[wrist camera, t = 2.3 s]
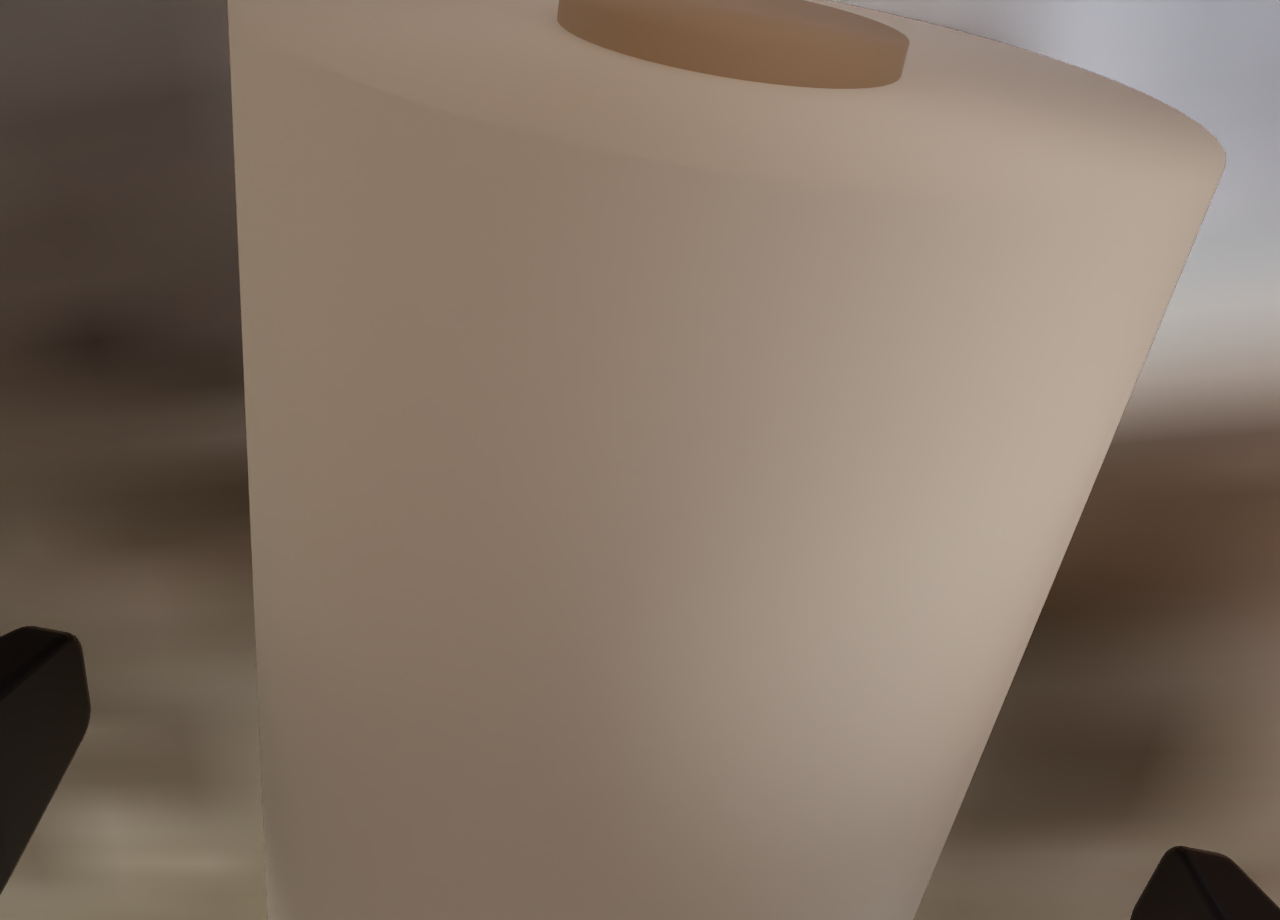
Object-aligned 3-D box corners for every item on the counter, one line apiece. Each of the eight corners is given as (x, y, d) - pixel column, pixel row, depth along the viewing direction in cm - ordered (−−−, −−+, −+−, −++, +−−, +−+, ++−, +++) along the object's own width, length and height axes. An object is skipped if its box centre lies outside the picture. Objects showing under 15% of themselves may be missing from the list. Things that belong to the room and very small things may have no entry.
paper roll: (807, 894, 15) (813, 1446, 10) (380, 809, 15) (171, 1307, 10) (1097, 19, 9) (1468, 249, 4) (411, -97, 10) (-34, -13, 4)
